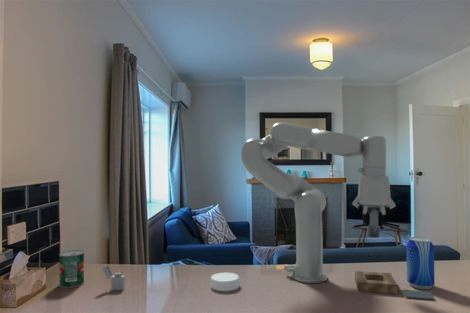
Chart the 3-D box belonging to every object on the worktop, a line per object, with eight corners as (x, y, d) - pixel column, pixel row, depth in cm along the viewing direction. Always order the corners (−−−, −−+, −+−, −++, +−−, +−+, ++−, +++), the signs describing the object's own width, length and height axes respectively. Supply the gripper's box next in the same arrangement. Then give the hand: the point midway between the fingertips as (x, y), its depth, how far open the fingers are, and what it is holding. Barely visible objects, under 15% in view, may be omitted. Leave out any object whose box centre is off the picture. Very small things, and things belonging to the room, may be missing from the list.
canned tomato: (55, 284, 126) (55, 253, 126) (78, 278, 131) (78, 248, 132) (65, 290, 120) (64, 257, 120) (88, 283, 126) (88, 252, 126)
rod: (368, 237, 121) (368, 207, 121) (366, 234, 125) (366, 206, 125) (380, 237, 120) (380, 208, 120) (378, 235, 124) (378, 206, 124)
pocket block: (358, 291, 118) (358, 282, 118) (354, 279, 130) (354, 270, 130) (397, 294, 115) (397, 284, 115) (390, 281, 127) (390, 273, 127)
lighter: (124, 288, 122) (124, 264, 122) (123, 290, 120) (123, 266, 120) (104, 288, 122) (104, 264, 122) (102, 289, 120) (102, 266, 120)
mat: (406, 298, 112) (406, 296, 112) (402, 291, 118) (402, 289, 118) (434, 300, 110) (434, 298, 110) (428, 293, 116) (428, 291, 116)
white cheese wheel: (245, 288, 122) (245, 278, 122) (219, 294, 116) (219, 283, 116) (230, 280, 130) (230, 270, 130) (205, 285, 125) (205, 274, 125)
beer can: (438, 291, 118) (437, 242, 118) (410, 289, 120) (410, 241, 120) (429, 282, 126) (429, 236, 126) (404, 280, 128) (403, 236, 128)
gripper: (349, 172, 121) (348, 226, 121) (402, 173, 117) (402, 229, 117) (347, 171, 128) (347, 222, 128) (397, 172, 125) (397, 224, 124)
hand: (373, 225), depth 123 cm, fingers closed on rod, 4 cm apart
